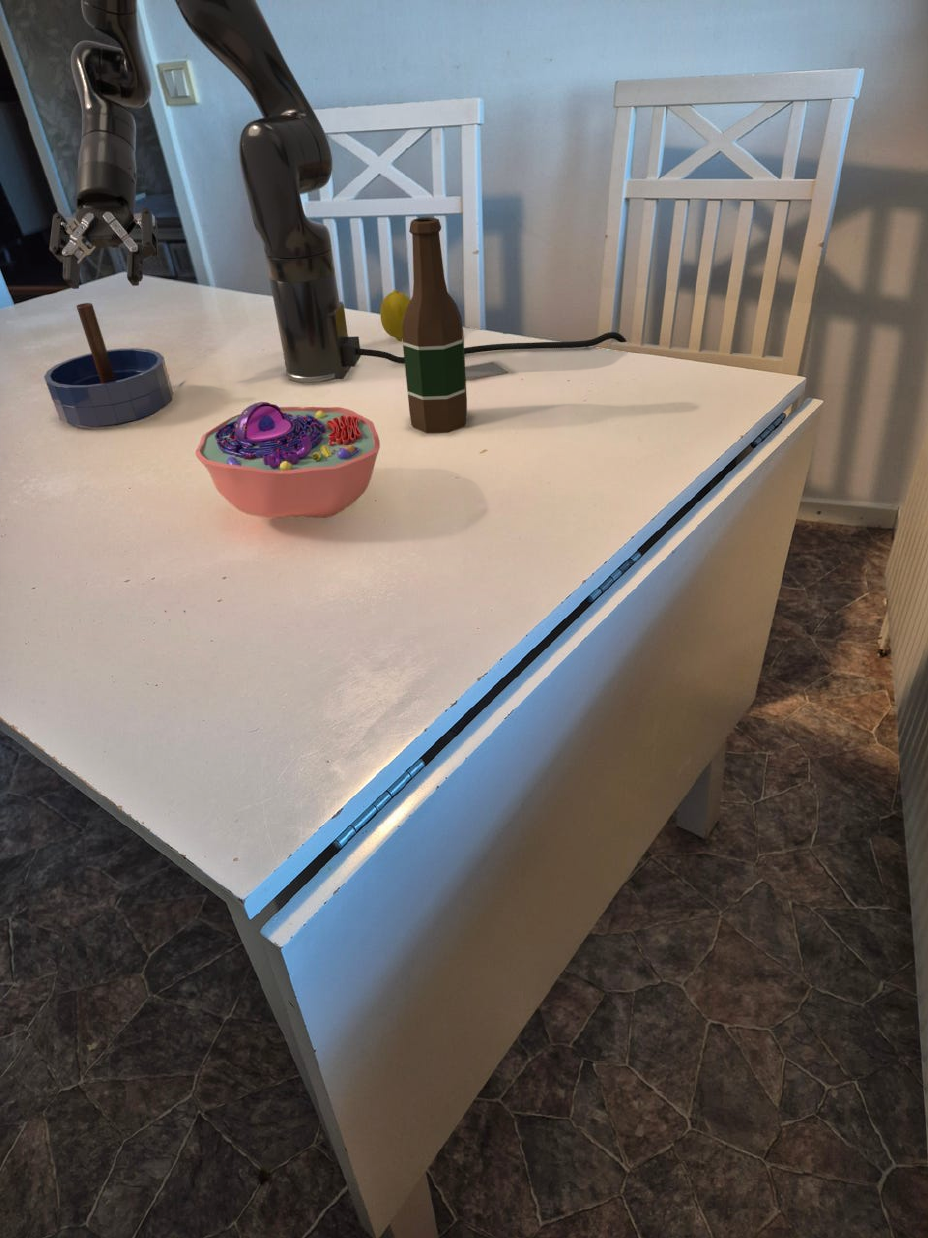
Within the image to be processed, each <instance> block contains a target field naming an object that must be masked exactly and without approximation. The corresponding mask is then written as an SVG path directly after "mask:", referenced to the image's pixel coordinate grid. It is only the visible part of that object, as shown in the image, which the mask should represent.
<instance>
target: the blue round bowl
mask: <svg viewBox="0 0 928 1238" xmlns="http://www.w3.org/2000/svg"><path fill="white" fill-rule="evenodd" d="M107 353H108V356H109V359H110V362H111V365H112V369H113V372H114V375H115V378H116V381H113V382H108V383H102V384H101V381H100V378H99V375H98V372H97V369H96V365H95V362H94V359H93V356H92V353H91V352H89V353H86V354H82V355H79V356H75V357H71V358H69V359H67V360H64V361H62V362H60V363H57V364H55V365H54V366H52V367H51V368H50V369H47V371H46V373H45V374H44V376H43V378H44V382H45V384H46V387H47V390H48V393H49V395H50V398H51V400H52V403H53V407H54V408H55V412H56V414H57V417H58V418H59V420H60V421H61V422H63V423H65V424H67V425H72V426H77V427H84V428H109V427H117V426H122V425H126V424H130V423H135V422H137V421H140V420H143V419H146V418H149V417H151V416H153V415H155V414H157V413H158V412H160V411H161V410H163V409H164V408H166V407H167V406H168V405H169V404H171V402H172V401H173V399H174V394H175V393H174V389H173V386H172V383H171V379H170V374H169V371H168V368H167V364H166V361H165V357H164V356H163V355H162V354H161V352H159V351H155V350H152V349H148V348H140V347H139V348H137V347H136V348H135V347H134V348H131V347H129V348H114V349H113V348H112V349H107Z"/></svg>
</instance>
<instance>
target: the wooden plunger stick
mask: <svg viewBox="0 0 928 1238" xmlns="http://www.w3.org/2000/svg"><path fill="white" fill-rule="evenodd" d="M76 310H77V313H78V316H79V319H80V322H81V325H82V328H83V331H84V334H85V338H86V342H87V344H88V347H89V350H90V353H92V356H93V359H94V362H95V365H96V369H97V372H98V375H99V378H100V381H101V384H102V383H108V382H113V381H116V378H115V375H114V372H113V369H112V365H111V362H110V359H109V356H108V353H107V350H108V349H107V347H106V343H105V339H104V337H103V334H102V330H101V326H100V325H99V321H98V318H97V314H96V311H95V308H94V304H93V303H90V302H85V303H80V304H77V305H76Z"/></svg>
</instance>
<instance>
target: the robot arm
mask: <svg viewBox="0 0 928 1238" xmlns="http://www.w3.org/2000/svg"><path fill="white" fill-rule="evenodd" d="M174 2H175V4H176V7H177V8H178V11H179V12H180V14H181V16H182V18H183V20H184V22H185V23H186V25H187V26H188V28H189V29H190V30H191V32H192V33H193V34H194V36H195V37H196V38H197V39H198V41H199V42H201V44H202V45H203V46H204V47H205V48H206V49H207V50H208V51H209V52H210V53H211V54H212V55H213V56H214V57H215V58H217V60H219V62H221V64H223V65H224V66H225V67H226V69H228V70H229V71H230V72H231V73H232V75H234V76H235V77H236V78H237V80H238V81H239V82H240V83H241V84H242V85H243V87H244V88H245V89H246V90H247V92H248V93H249V95H250V97H251V98H252V99H253V101H254V103H255V104H256V107H257V108H258V110H259V112H260V114H261V116H262V117H261V118H257V119H253V120H251V121H249V122H247V124H246V125H244V127H243V129H242V130H241V133H240V137H239V141H238V142H239V143H238V157H239V165H240V170H241V174H242V180H243V183H244V189H245V192H246V196H247V200H248V205H249V209H250V214H251V218H252V222H253V225H254V228H255V231H256V233H257V235H258V236H259V239H260V240H261V242H262V245H263V251H264V254H265V255H264V256H265V260H266V266H267V273H268V277H269V282H270V289H271V294H272V299H273V305H274V311H275V315H276V322H277V326H278V331H279V332H278V333H279V336H280V343H281V349H282V353H283V359H284V365H285V371H286V373H285V374H286V377H287V379H288V380H289V381H292V382H295V383H300V384H320V383H326V382H331V381H336V380H344V379H345V377H346V376H347V374H348V373H349V371H350V370H351V368H352V367H355V366H356V365H357V363H358V362H359V360H360V359H361V357H362V356H363V357H364V356H365V357H374V358H382V359H384V360H388V361H390V362H393V363H396V364H401V365H402V364H403V365H405V361H404V356H398V355H394V354H393V353H390V352H387V351H382V350H377V349H368V348H361V345H360V337H359V336H349V334H348V326H347V318H346V312H345V311H346V310H345V304H344V302H343V301H340V298H339V297H340V296H339V290H338V283H337V282H338V281H337V275H336V267H335V261H334V253H333V246H332V240H331V234H330V233H331V232H330V230H329V228H328V226H327V225H325V224H324V223H322V222H317V221H313V220H311V219H309V218H308V217H307V215H306V213H305V209H304V206H303V202H302V198H301V195H304V194H308V193H312V192H315V191H318V190H320V189H322V188H324V187H325V186H327V184H329V181H330V179H331V177H332V173H333V153H332V149H331V146H330V142H329V138H328V137H327V134H326V132H325V130H324V128H323V125H322V124H321V122H320V120H319V118H318V117H317V115H316V113H315V111H314V109H313V108H312V106H311V104H310V102H309V101H308V98H307V97H306V95H305V93H304V92H303V90H302V88H301V87H300V85H299V83H298V81H297V79H296V78H295V76H294V74H293V73H292V70H291V69H290V66H289V65H288V63H287V61H286V59H285V57H284V56H283V54H282V51H281V50H280V47H279V45H278V43H277V41H276V39H275V37H274V35H273V33H272V31H271V29H270V26H269V24H268V23H267V20H266V18H265V16H264V14H263V12H262V10H261V8H260V6H259V4H258V2H257V0H174ZM80 4H81V6H80V7H81V12H82V16H83V18H84V20H85V22H86V23H87V24H88V25H89V26H90V27H91V28H93V29H95V30H96V31H98V32H100V33H102V34H104V35H106V36H107V37H109V38H111V39H113V40H114V41H116V43H117V44H118V45H119V46H120V47H117V46H113V45H109V44H104V43H101V42H97V41H93V40H81V41H80V42H78V43H76V45H75V46H74V48H73V49H72V51H71V55H70V67H71V73H72V77H73V80H74V84H75V88H76V91H77V94H78V97H79V102H80V106H81V118H82V119H81V120H82V122H81V142H80V148H79V152H78V160H77V161H78V163H77V182H76V206H77V208H76V209H77V210H76V212H75V214H74V216H63V214H62V213H61V212H55V213H54V214H53V216H52V224H51V232H50V240H49V248H48V249H49V251H50V253H52V255H54V257H55V258H56V259H57V260H58V261H59V262H60V263H62V278H63V280H64V282H66V283H67V285H68V286H69V287H70V288H71V289H72V290H79V289H80V280H81V279H80V277H81V265H80V263H81V262H82V260H83V259H84V258H85V257H86V256H90V255H91V254H92V253H93V251H94V250H95V249H97V250H99V249H105V248H113V249H114V248H115V249H118V248H120V246H121V245H122V244H123V245H125V247H126V248H127V249H128V251H129V253H127V259H126V260H127V262H126V278H127V280H128V282H129V283H130V284H131V286H133V287H137V286H138V287H139V285H140V282H142V280H143V278H144V262H145V261H146V259H147V258H149V257H151V258H157V256H158V255H159V240H158V239H159V238H158V237H159V236H158V235H159V234H158V220H157V219H156V217H155V215H154V214H153V213H152V211H151V210H150V208H148V207H143V208H142V209H141V210H140V212H136V199H137V198H136V196H137V181H138V175H137V163H136V146H137V145H136V143H137V125H136V120H135V118H134V116H133V114H132V113H131V112H130V110H128V109H127V108H132V109H141V108H143V107H144V106H145V105H147V103H148V102H149V101H150V98H151V95H152V78H151V74H150V70H149V66H148V62H147V58H146V55H145V52H144V48H143V44H142V40H141V35H140V34H141V33H140V29H139V28H140V27H139V21H138V19H139V18H138V0H80ZM126 107H127V108H126ZM137 225H139V227H140V228H141V243H138V244H137V243H136V242H135V240H134V239H133V238H132V237H131V234H132V232H133V231H134V230H135V229H136V228H137ZM84 238H85V240H86V242H85V243H84V242H83V239H84ZM611 339H613V340H616V341H617V342H619V343H626V342H627V339H626V338H625V337H624V336H623V334H621V333H619V332H615V331H610V332H606V333H603V334H601V335H599V336H597V337H594V338H591V339H587V340H586V339H585V340H573V341H537V342H535V341H534V342H533V341H532V342H507V343H493V344H492V343H491V344H483V345H475V346H474V345H473V346H467V347H464V355H469V354H477V353H485V352H495V351H511V350H543V349H546V350H547V349H579V348H589V347H593V346H596V345H599V344H601V343H603V342H605V341H608V340H611Z"/></svg>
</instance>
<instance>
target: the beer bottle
mask: <svg viewBox="0 0 928 1238" xmlns="http://www.w3.org/2000/svg"><path fill="white" fill-rule="evenodd" d="M408 231H409V233H410V234H411V238H412V239H411V240H412V241H411V242H412V265H413V266H412V271H413V272H412V274H413V276H412V277H413V286H412V287H413V288H412V296H411V298H410V302H409V304H408V306H407V309H406V312H405V317H404V321H403V326H402V333H403V339H402V349H403V357H404V361H405V364H404V369H405V371H404V372H405V380H406V390H407V401H408V411H409V418H410V424H411V427H412V428H414V429H416V430H418V431H420V432H423V433H425V434H449V433H451V432H454V431H456V430H458V429H461V428H463V427H465V426H466V424H467V417H468V395H467V394H468V393H467V379H466V374H465V367H466V360H465V359H466V357H465V355H466V354H464V348H465V340H464V339H465V336H464V327H463V319H462V318H463V317H462V315H461V312H460V309H459V307H458V305H457V303H456V301H455V300H454V299H453V297H452V296H451V295H450V293H449V291H448V288H447V283H446V279H445V271H444V262H443V256H442V255H443V253H442V247H441V239H440V238H441V237H440V231H442V225H441V221H440V219H438V218H436V217H431V216H426V217H418V218H414V219H412V220H411V221H410V225H409V230H408Z"/></svg>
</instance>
